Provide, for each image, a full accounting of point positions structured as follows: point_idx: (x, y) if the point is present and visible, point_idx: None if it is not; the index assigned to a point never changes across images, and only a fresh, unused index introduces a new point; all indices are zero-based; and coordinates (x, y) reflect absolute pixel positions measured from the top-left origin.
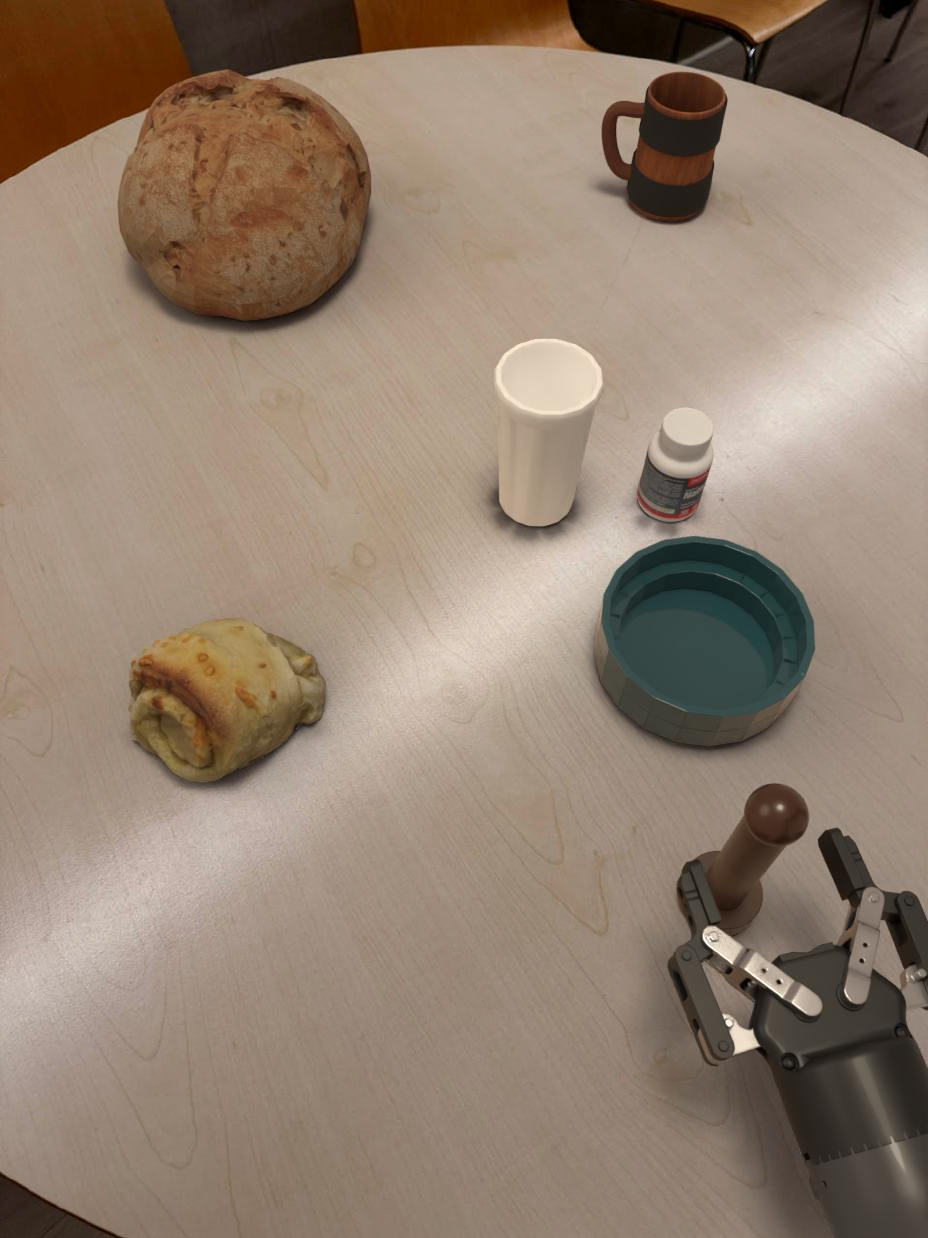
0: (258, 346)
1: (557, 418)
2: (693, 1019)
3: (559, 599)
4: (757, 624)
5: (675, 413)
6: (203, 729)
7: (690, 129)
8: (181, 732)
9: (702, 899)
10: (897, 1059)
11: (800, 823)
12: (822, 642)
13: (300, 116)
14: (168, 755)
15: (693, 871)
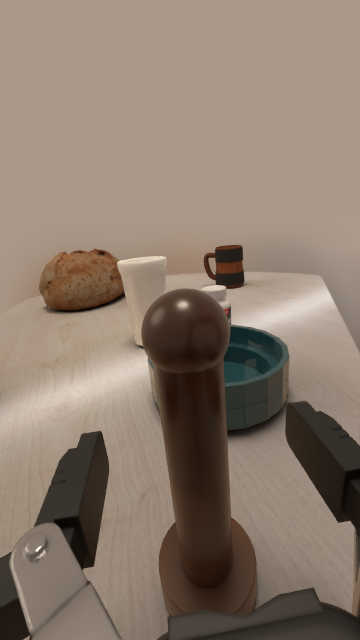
0: (71, 315)
1: (137, 264)
2: None
3: (148, 369)
4: (259, 372)
5: (208, 286)
6: None
7: (229, 252)
8: None
9: (67, 477)
10: None
11: (203, 310)
12: (305, 382)
13: (103, 256)
14: None
15: (81, 441)
